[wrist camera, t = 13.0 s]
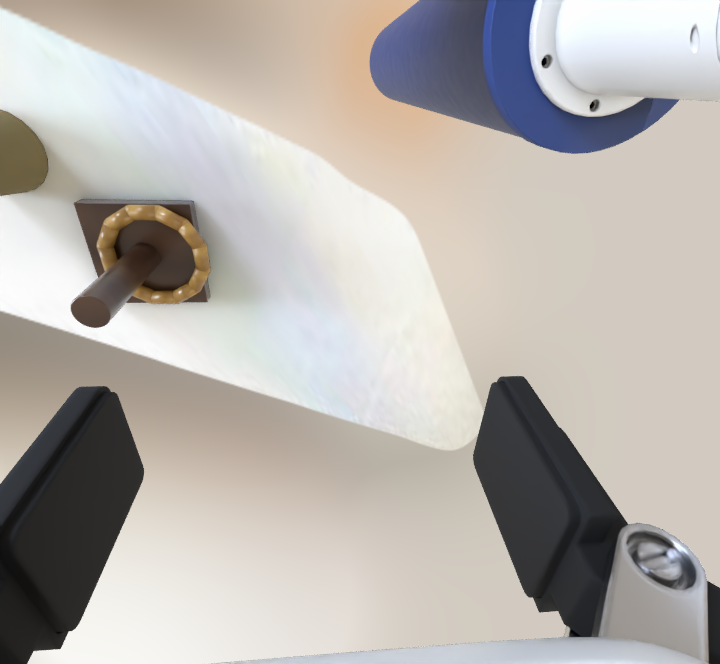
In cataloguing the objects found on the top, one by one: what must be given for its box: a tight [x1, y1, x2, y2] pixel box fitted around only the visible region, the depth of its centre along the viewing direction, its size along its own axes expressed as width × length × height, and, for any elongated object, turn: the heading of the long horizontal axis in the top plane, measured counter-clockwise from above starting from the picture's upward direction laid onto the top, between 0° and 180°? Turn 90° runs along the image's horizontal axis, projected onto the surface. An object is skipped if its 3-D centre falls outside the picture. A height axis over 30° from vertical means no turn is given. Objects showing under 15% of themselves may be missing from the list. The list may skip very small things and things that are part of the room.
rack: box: [71, 199, 210, 328], centre depth 32 cm, size 9×9×11 cm
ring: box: [97, 205, 211, 304], centre depth 35 cm, size 9×9×1 cm
